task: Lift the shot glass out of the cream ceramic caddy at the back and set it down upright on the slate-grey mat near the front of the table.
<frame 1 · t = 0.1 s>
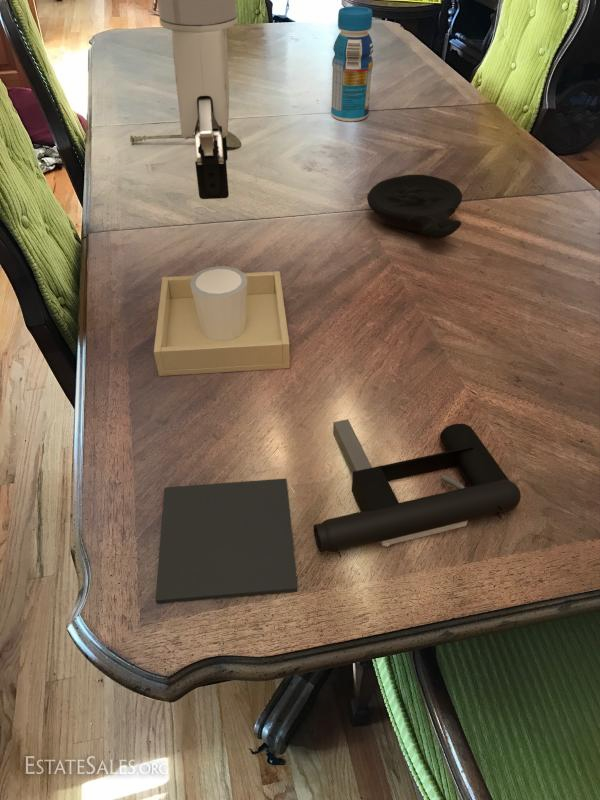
hand: (214, 178, 71), 18 cm above the table, tool pointing down, fingers open, 9 cm apart
caddy: (224, 332, 79), on the table
door handle: (396, 482, 62), on the table
shot glass: (223, 328, 78), point 1 cm above the table, touching caddy
mat: (226, 537, 57), on the table
black cap: (415, 227, 99), on the table
beverage bottle: (349, 116, 135), on the table
soupspoon: (186, 145, 123), on the table
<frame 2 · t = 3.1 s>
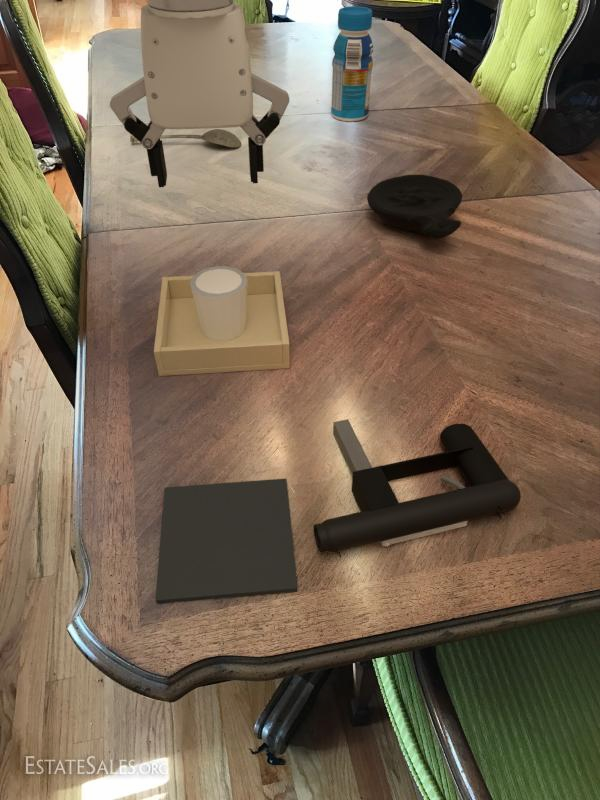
hand: (208, 179, 65), 20 cm above the table, tool pointing down, fingers open, 9 cm apart
nothing on the table moved.
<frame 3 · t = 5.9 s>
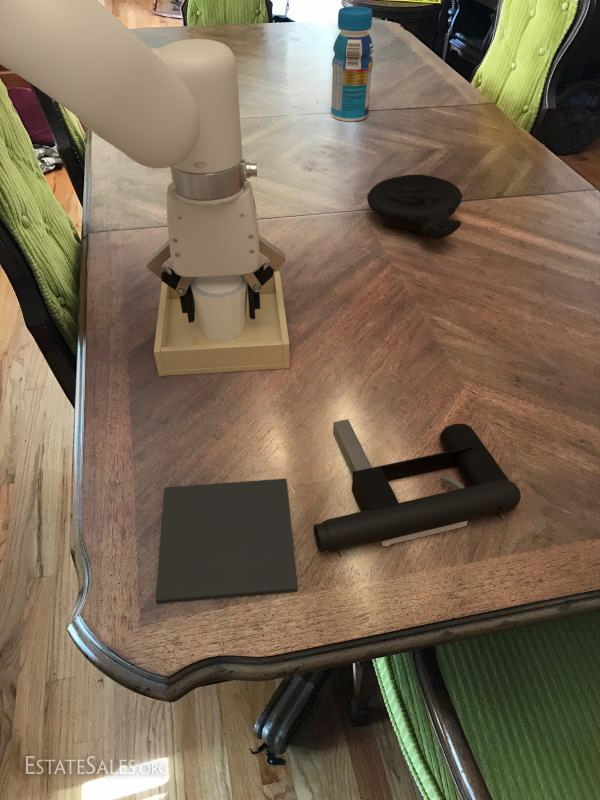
hand: (222, 313, 77), 3 cm above the table, tool pointing down, fingers closed on shot glass, 6 cm apart
shot glass: (223, 328, 78), point 1 cm above the table, touching caddy, gripper
everything else where it was.
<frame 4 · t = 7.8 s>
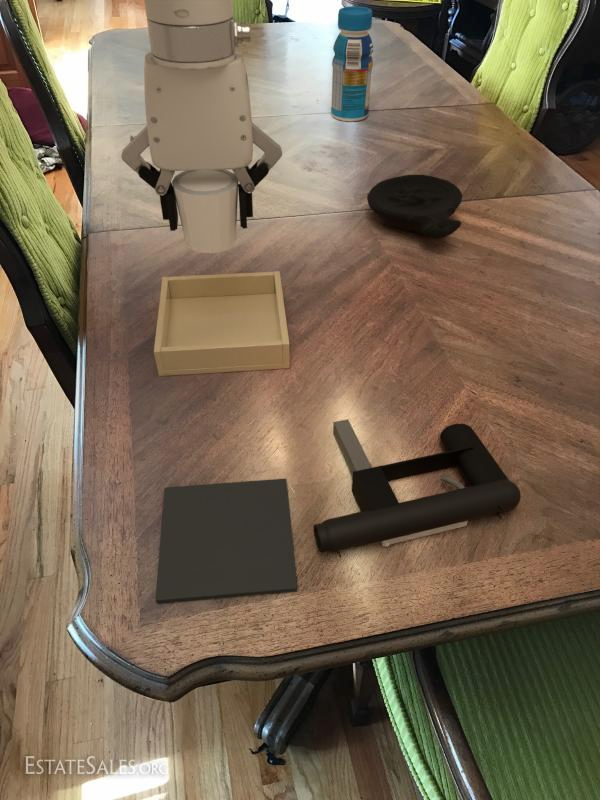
hand: (209, 222, 67), 16 cm above the table, tool pointing down, fingers closed on shot glass, 6 cm apart
shot glass: (210, 242, 69), point 14 cm above the table, touching gripper
everything else where it was.
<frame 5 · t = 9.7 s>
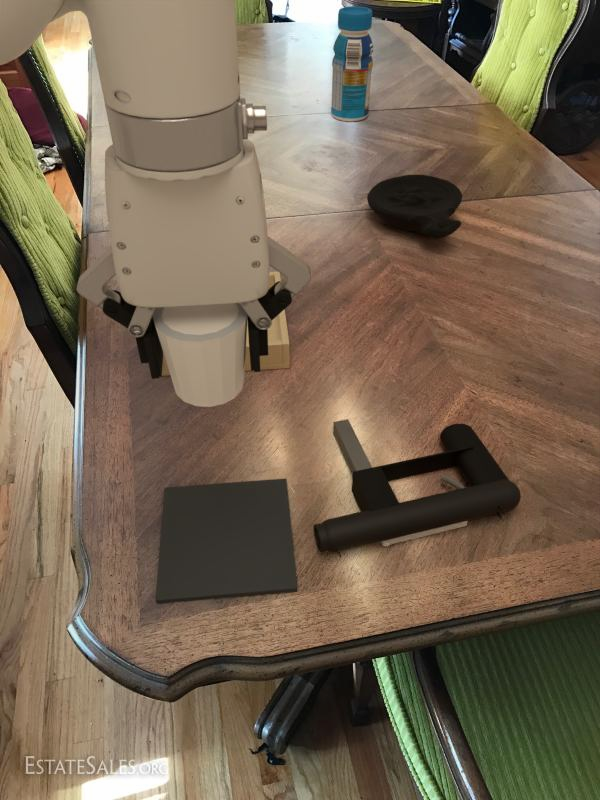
hand: (206, 362, 48), 17 cm above the table, tool pointing down, fingers closed on shot glass, 6 cm apart
shot glass: (209, 384, 49), point 15 cm above the table, touching gripper
everything else where it was.
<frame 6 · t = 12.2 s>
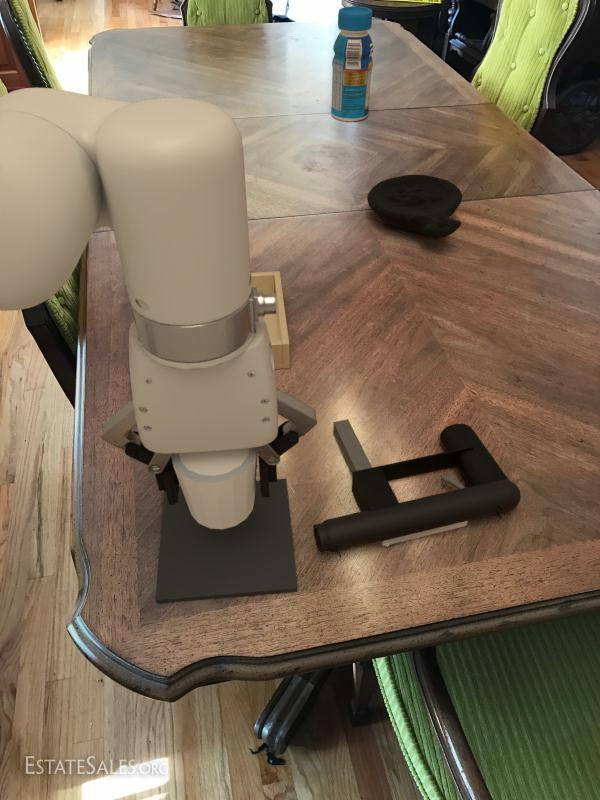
hand: (219, 486, 51), 8 cm above the table, tool pointing down, fingers closed on shot glass, 6 cm apart
shot glass: (222, 503, 53), point 5 cm above the table, touching gripper
everything else where it was.
when the fingers open (3 cm above the table, at t = 14.0 s): shot glass stays where it is, resting on mat.
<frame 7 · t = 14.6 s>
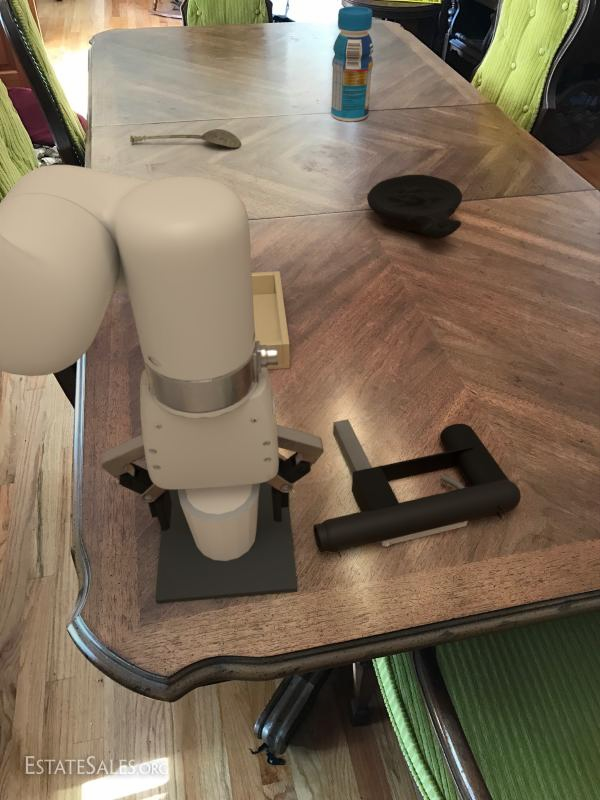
hand: (222, 512, 54), 4 cm above the table, tool pointing down, fingers open, 9 cm apart
shot glass: (225, 535, 56), resting on mat
everything else where it was.
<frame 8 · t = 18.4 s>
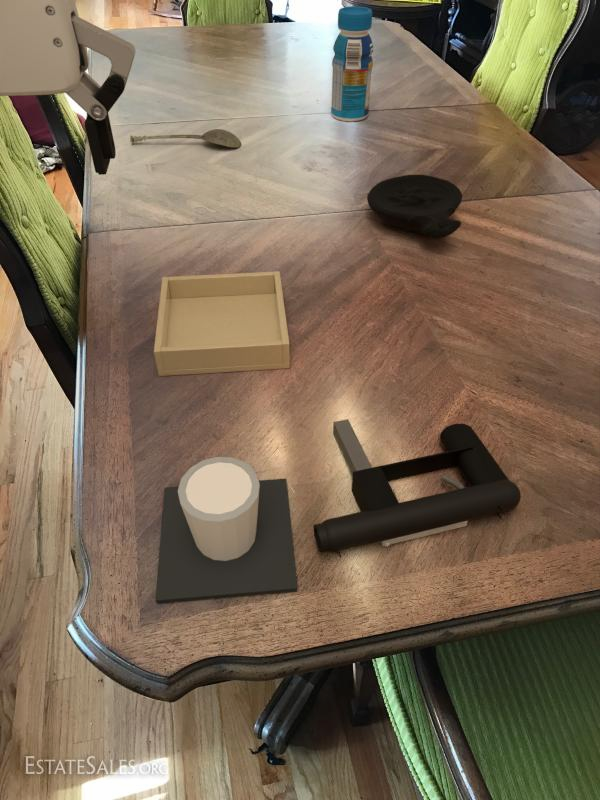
hand: (40, 169, 48), 28 cm above the table, tool pointing down, fingers open, 9 cm apart
nothing on the table moved.
at the end: shot glass inside the target area on the mat (0.1 cm from its centre), point 0.4 cm above the mat's base; shot glass tilted 0°; shot glass touching mat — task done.
